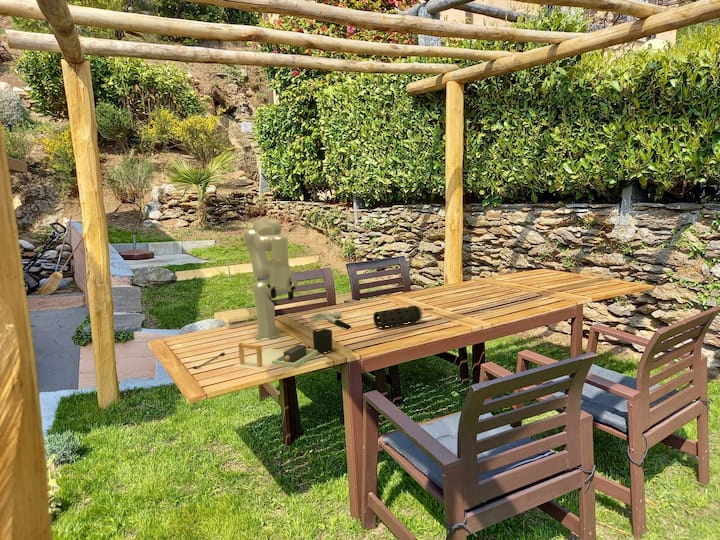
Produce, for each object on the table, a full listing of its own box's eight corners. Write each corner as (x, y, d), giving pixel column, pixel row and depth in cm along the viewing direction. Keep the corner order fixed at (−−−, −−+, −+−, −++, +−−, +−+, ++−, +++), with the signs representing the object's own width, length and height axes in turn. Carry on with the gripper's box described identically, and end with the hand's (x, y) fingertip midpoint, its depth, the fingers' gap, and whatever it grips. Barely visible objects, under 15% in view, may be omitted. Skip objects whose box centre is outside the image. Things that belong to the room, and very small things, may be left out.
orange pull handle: (242, 362, 216) (241, 342, 215) (262, 365, 211) (261, 345, 210) (239, 363, 214) (238, 343, 213) (259, 366, 210) (258, 346, 208)
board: (268, 349, 236) (268, 348, 236) (291, 353, 230) (291, 351, 230) (233, 367, 213) (233, 365, 213) (258, 371, 207) (258, 369, 207)
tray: (296, 352, 231) (296, 347, 231) (317, 355, 226) (317, 350, 226) (272, 365, 213) (272, 360, 213) (294, 369, 208) (294, 363, 208)
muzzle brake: (373, 327, 272) (372, 309, 270) (414, 320, 284) (413, 303, 282) (381, 331, 263) (381, 313, 262) (423, 324, 276) (423, 306, 274)
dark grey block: (300, 353, 227) (299, 343, 226) (307, 354, 225) (307, 344, 224) (282, 363, 214) (282, 352, 213) (290, 364, 212) (290, 353, 211)
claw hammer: (363, 320, 272) (337, 309, 297) (329, 327, 260) (305, 314, 285) (363, 329, 273) (337, 317, 298) (329, 336, 261) (305, 323, 286)
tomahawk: (203, 372, 211) (203, 370, 210) (192, 369, 213) (192, 367, 213) (233, 356, 230) (233, 354, 229) (222, 354, 232) (222, 352, 232)
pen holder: (316, 348, 237) (315, 328, 235) (334, 348, 235) (333, 329, 234) (311, 354, 228) (310, 334, 226) (330, 354, 226) (329, 334, 225)
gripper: (260, 263, 220) (262, 299, 223) (291, 264, 213) (293, 301, 216) (269, 261, 227) (271, 295, 230) (300, 262, 219) (302, 298, 222)
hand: (282, 298), depth 223 cm, fingers open, 9 cm apart
